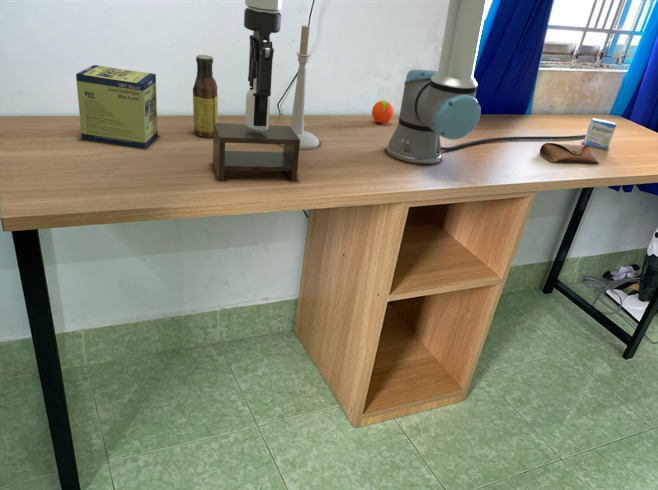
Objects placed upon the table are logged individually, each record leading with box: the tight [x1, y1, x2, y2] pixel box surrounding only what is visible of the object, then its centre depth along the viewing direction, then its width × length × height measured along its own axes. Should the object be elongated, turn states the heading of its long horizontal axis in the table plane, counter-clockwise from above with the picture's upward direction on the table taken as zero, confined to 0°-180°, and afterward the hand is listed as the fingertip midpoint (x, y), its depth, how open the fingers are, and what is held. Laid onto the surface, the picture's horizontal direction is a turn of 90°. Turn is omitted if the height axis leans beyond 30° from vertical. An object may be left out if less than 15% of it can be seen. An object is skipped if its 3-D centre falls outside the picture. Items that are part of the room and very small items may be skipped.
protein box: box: [75, 64, 159, 149], centre depth 148 cm, size 10×16×16 cm
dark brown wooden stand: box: [212, 122, 300, 182], centre depth 143 cm, size 18×10×10 cm, turn 109°
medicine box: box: [583, 117, 617, 151], centre depth 209 cm, size 8×4×9 cm, turn 76°
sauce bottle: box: [192, 54, 219, 138], centre depth 158 cm, size 7×6×20 cm
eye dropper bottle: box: [244, 78, 271, 131], centre depth 137 cm, size 4×6×12 cm
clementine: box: [371, 100, 395, 125], centre depth 195 cm, size 8×7×7 cm
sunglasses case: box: [539, 142, 600, 165], centre depth 192 cm, size 18×7×7 cm
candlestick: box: [278, 25, 320, 150], centre depth 162 cm, size 13×13×30 cm
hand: (257, 121), depth 139 cm, fingers closed on eye dropper bottle, 5 cm apart
